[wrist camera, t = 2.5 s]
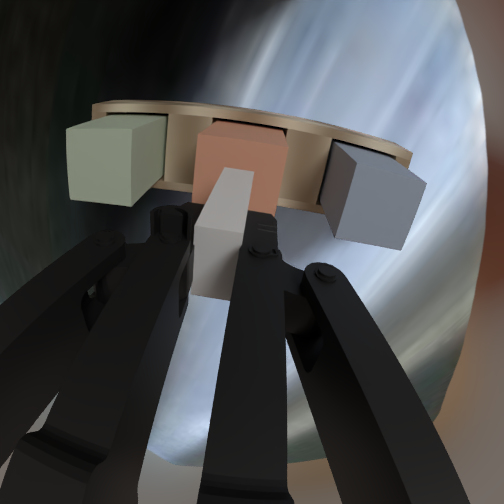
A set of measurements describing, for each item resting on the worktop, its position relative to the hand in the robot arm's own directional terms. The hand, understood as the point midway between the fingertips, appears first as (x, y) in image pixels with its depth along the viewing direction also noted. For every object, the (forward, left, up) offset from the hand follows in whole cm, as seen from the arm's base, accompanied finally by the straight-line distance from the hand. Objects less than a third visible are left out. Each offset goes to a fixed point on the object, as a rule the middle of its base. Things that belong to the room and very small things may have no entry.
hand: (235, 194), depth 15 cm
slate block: (+9, 0, -9) cm, 13 cm away
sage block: (-9, 0, -9) cm, 13 cm away
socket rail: (0, 0, -12) cm, 12 cm away
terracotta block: (0, 0, -9) cm, 9 cm away
